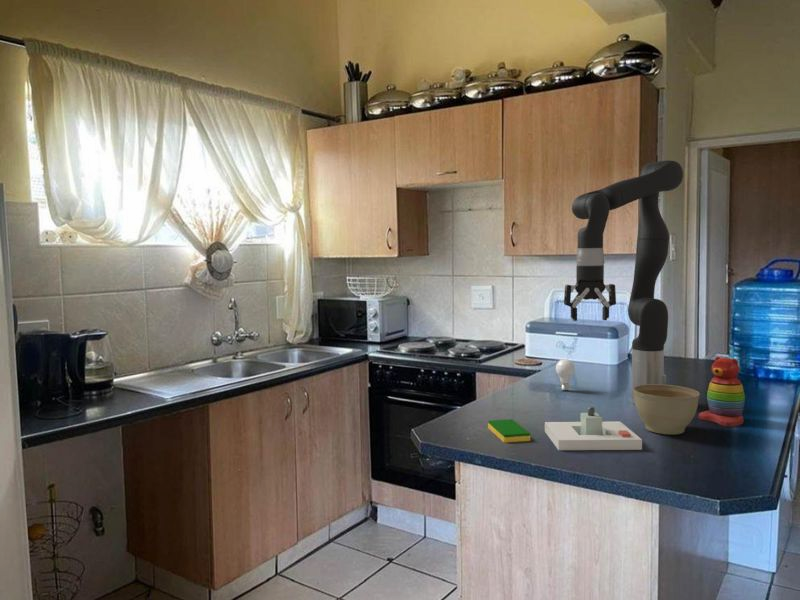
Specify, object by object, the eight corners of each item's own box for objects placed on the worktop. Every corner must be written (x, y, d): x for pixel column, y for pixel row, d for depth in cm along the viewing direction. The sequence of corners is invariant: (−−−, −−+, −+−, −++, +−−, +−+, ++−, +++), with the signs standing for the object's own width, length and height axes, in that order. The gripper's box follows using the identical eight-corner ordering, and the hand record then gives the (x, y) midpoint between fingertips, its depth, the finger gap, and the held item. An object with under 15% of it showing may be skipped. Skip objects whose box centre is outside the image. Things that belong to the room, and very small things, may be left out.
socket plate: (619, 430, 164) (620, 418, 164) (641, 449, 148) (642, 436, 148) (544, 431, 165) (544, 419, 164) (558, 450, 149) (558, 436, 148)
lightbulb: (554, 392, 210) (554, 360, 209) (557, 388, 216) (557, 357, 215) (573, 393, 208) (573, 361, 207) (575, 389, 214) (575, 358, 213)
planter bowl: (694, 443, 153) (695, 400, 152) (627, 433, 161) (627, 393, 160) (702, 426, 166) (702, 387, 165) (639, 419, 175) (639, 381, 174)
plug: (595, 435, 159) (596, 404, 158) (602, 441, 154) (602, 409, 153) (580, 435, 159) (580, 405, 158) (586, 441, 154) (586, 410, 153)
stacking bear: (694, 418, 175) (696, 356, 174) (720, 414, 179) (721, 353, 178) (728, 427, 165) (730, 362, 164) (754, 423, 169) (756, 359, 168)
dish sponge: (504, 444, 156) (504, 434, 155) (487, 428, 169) (487, 420, 169) (530, 442, 157) (530, 433, 156) (512, 427, 170) (512, 418, 170)
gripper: (610, 263, 179) (610, 318, 181) (562, 264, 180) (561, 319, 181) (619, 264, 172) (618, 321, 173) (568, 264, 172) (568, 322, 173)
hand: (589, 320), depth 177 cm, fingers open, 8 cm apart
